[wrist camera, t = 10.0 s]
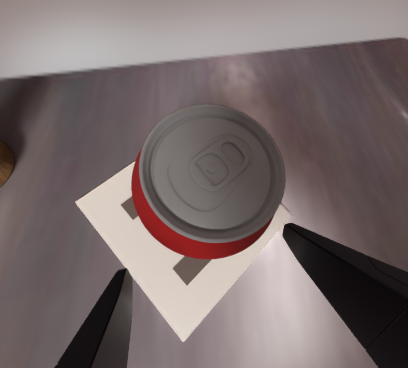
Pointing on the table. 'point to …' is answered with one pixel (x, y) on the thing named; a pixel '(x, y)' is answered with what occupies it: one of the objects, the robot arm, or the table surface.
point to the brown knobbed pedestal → (5, 162)
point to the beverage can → (208, 181)
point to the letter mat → (166, 256)
